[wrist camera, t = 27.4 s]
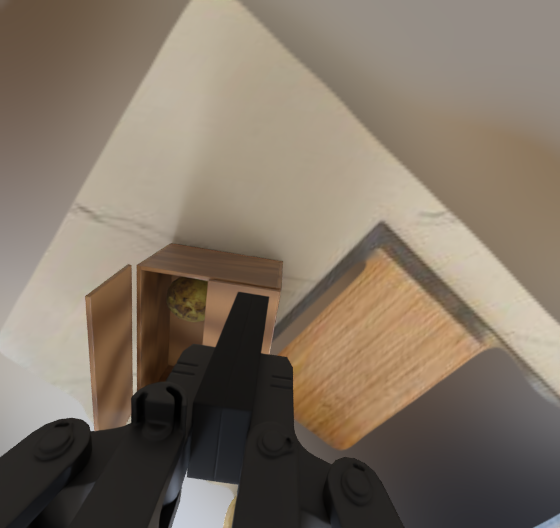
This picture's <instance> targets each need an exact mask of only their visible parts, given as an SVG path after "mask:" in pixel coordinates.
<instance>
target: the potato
mask: <svg viewBox="0 0 560 528" xmlns="http://www.w3.org/2000/svg"><path fill="white" fill-rule="evenodd" d="M207 287H208V281H207V280H201V279H195V278H189V277H182V276H181V277H179V278H177V279H176V280H174V281H173V282H172V283H171V285H170V286H169V288H168V291H167V297H166V303H167V306H168V308H169V310H170V311H171V312H172V313H173V314H174V315H175V316H177V317H178V318H180V319H183V320H186V321H189V322H200V321H204V320H205V310H206V298H207Z"/></svg>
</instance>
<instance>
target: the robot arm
mask: <svg viewBox="0 0 560 528" xmlns="http://www.w3.org/2000/svg"><path fill="white" fill-rule="evenodd" d="M268 303H269V296H263V295H257V294H250V293H244V292H238V293H237V295H236V298H235V300H234V302H233V305H232V307H231V310H230V312H229V315H228V317H227V320H226V322H225V325H224V327H223V330H222V332H221V334H220V337H219V339H218V342H217V344H216V347H212V346H206V345H200V344H192V345H191V346H189V347H188V348H187V349H185V350H184V351H183V352H182V354H181V355H180V357H179V359H178V360H177V363H176V364H175V366H174V367H173V369H172V372H171V373H170V374H169V376H168V378H167V380H166V381H165V382H156V383H152V384H148V385H147V386H145V387H143V388H141V389H139V390H138V391H137V392H136V393H135V394H134V395H133V396H132V397H131V423H130V424H128V425H125V426H122V427H118V428H112V429H105V430H98V431H90V427H89V425H88V424H87V423H86V422H84V421H83V420H81V419H75V418H67V419H59V420H57V421H54V422H51V423H48V424H46V425H44V426H42V427H41V428H39V429H37V430H36V431H34V432H32V433H31V434H30V435H28V436H27V437H26V438H25V439H23V440H22V441H21V442H20V443H18V444H17V445H16V446H14V447H13V448H12V449H10V450H9V451H8V452H7V453H5V454H4V455H3V456H1V457H0V528H171V527H172V524H173V521H174V518H175V515H176V512H177V509H178V505H179V502H180V497H181V489H182V483H183V480H184V477H185V474H186V471H187V468H188V471H187V477H189V478H196V479H203V480H210V481H216V482H223V483H230V484H237V485H238V491H237V498H236V503H235V509H234V515H233V521H232V528H404V526H403V524H402V522H401V520H400V518H399V516H398V514H397V512H396V510H395V508H394V506H393V504H392V502H391V500H390V498H389V496H388V494H387V492H386V490H385V488H384V486H383V484H382V482H381V481H380V479H379V478H378V476H377V475H376V473H375V472H374V471H373V470H372V469H371V468H370V467H369V466H367V465H366V464H365V463H363V462H361V461H359V460H357V459H355V458H347V457H344V458H341V459H338V460H336V461H335V462H334V463H333V464H330V463H327V462H326V461H324V460H322V459H320V458H318V457H316V456H314V455H312V454H311V453H309V452H308V451H307V450H306V449H305V448H304V447H303V446H302V445H301V444H300V442H299V441H298V439H297V437H296V434H295V431H294V407H293V367H292V365H291V363H290V362H289V360H288V358H287V357H282V356H276V355H270V354H263V353H261V351H262V344H263V337H264V330H265V324H266V317H267V310H268Z"/></svg>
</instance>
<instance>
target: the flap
mask: <svg viewBox="0 0 560 528" xmlns="http://www.w3.org/2000/svg"><path fill="white" fill-rule="evenodd" d="M238 292H244V293H250V294H257V295H263V296H269V303H268V310H267V317H266V324H265V330H264V337H263V344H262V351H261V353H263V354H269V353H270V347H271V341H272V336H273V330H274V325H275V319H276V314H277V308H278V303H279V297H280V290H274V289H268V288H262V287H255V286H249V285H243V284H236V283H230V282H224V281H217V280H211V279H209V280H208V287H207V298H206V310H205V321H204V333H203V344H202V345H206V346H212V347H216V344H217V342H218V339H219V337H220V334H221V332H222V330H223V327H224V325H225V322H226V320H227V317H228V315H229V312H230V310H231V307H232V305H233V302H234V300H235V298H236V295H237V293H238Z"/></svg>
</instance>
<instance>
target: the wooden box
mask: <svg viewBox="0 0 560 528" xmlns="http://www.w3.org/2000/svg"><path fill="white" fill-rule="evenodd" d="M282 268H283V262H282V261H276V260H270V259H264V258H258V257H252V256H246V255H240V254H234V253H228V252H222V251H215V250H209V249H203V248H197V247H191V246H185V245H179V244H173V243H171V244H169V245H167V246H166V247H164V248H163V249H161V250H160V251H158V252H156V253H155V254H153V255H152V256H150V257H149V258H147V259H146V260H144V261H142V262H141V263H139V264H138V265H137V391H138V390H139V389H141V388H143V387H145V386H147V385H148V384H152V383H156V382H165V381H166V380H167V378H168V376H169V374H170V373H171V372H172V369H173V367H174V366H175V364H176V363H177V360H178V359H179V357H180V355H181V354H182V352H183V351H184V350H185V349H187V348H188V347H189V346H191V345H192V344H200V345H202V344H203V333H204V321H205V320H204V321H200V322H189V321H186V320H183V319H180V318H178V317H177V316H175V315H174V314H173V313H172V312H171V311H170V310H169V308H168V306H167V303H166V297H167V291H168V288H169V286H170V285H171V283H172V282H173V281H174V280H176V279H177V278H179V277H181V276H182V277H189V278H195V279H201V280H207V281H208V280H209V279H211V280H217V281H224V282H230V283H236V284H243V285H249V286H255V287H262V288H268V289H274V290H280V293H281V286H282ZM279 299H280V297H279ZM85 300H86V315H87V329H88V343H89V358H90V372H91V387H92V401H93V416H94V430H95V431H98V430H105V429H112V428H118V427H122V426H125V425H126V423H127V421H128V419H129V417H130V416H131V397H132V396H133V376H132V272H131V265H129V264H128V265H126V266H125V267H124V268H122V269H121V270H120V271H118V272H117V273H116V274H114V275H113V276H112V277H110V278H109V279H108V280H106V281H105V282H104V283H102V284H101V285H100V286H98V287H97V288H96V289H94V290H93V291H92V292H90V293H89V294H88V295H86V296H85ZM278 304H279V303H278ZM277 310H278V308H277ZM276 315H277V314H276ZM275 321H276V319H275ZM274 327H275V325H274ZM273 332H274V330H273ZM272 338H273V336H272ZM271 343H272V341H271ZM270 348H271V347H270ZM269 354H270V353H269Z"/></svg>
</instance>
